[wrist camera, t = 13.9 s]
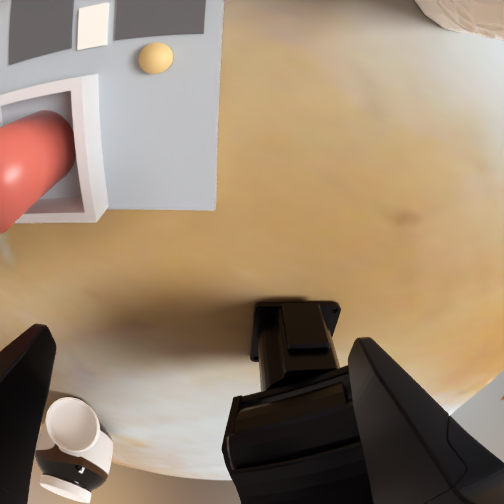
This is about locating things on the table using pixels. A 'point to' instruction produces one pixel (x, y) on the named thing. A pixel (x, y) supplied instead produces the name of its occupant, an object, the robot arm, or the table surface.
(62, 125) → the pink cylinder with nub
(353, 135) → the table surface
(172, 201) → the panel
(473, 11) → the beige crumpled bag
